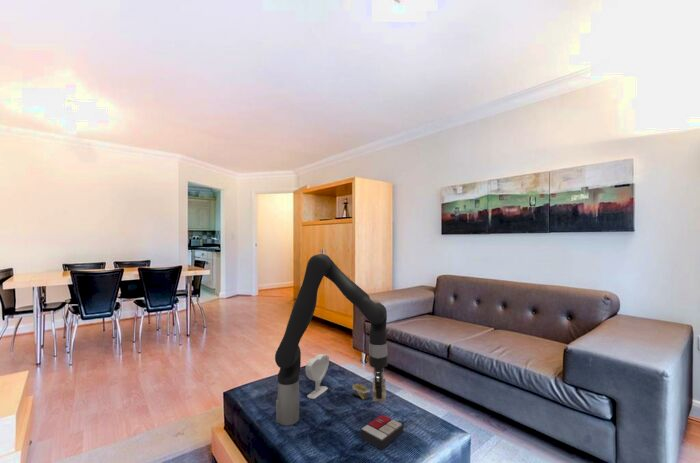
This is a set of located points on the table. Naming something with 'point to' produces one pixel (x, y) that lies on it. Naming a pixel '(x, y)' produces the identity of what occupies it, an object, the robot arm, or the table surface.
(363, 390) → the olive plastic tub
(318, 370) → the heart sculpture
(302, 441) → the table surface
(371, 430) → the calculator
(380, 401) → the maple block
